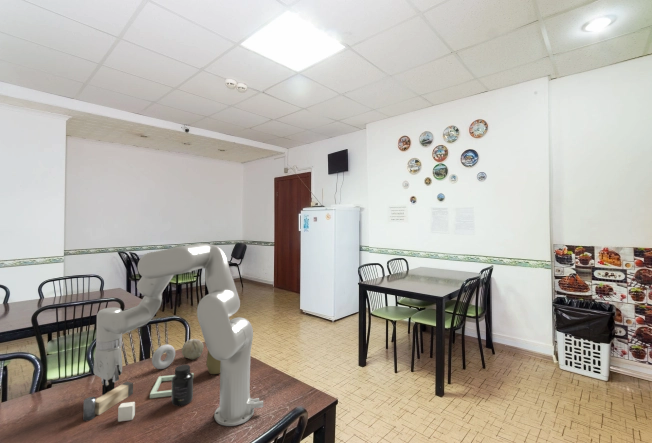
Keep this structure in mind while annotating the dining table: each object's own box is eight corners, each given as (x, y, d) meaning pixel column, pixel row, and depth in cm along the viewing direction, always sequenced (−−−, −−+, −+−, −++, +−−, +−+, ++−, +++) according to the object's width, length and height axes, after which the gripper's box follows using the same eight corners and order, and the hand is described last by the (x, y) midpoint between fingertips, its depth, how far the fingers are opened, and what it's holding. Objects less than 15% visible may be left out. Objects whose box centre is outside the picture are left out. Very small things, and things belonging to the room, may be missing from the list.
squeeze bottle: (219, 377, 127) (220, 333, 127) (202, 374, 128) (202, 331, 128) (229, 368, 135) (230, 326, 135) (212, 365, 136) (213, 325, 136)
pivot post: (96, 414, 101) (97, 396, 101) (92, 420, 99) (92, 401, 99) (86, 415, 101) (86, 397, 101) (81, 421, 98) (81, 402, 98)
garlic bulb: (202, 361, 145) (210, 342, 145) (187, 366, 138) (195, 345, 138) (189, 351, 150) (197, 332, 150) (174, 355, 142) (182, 334, 142)
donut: (172, 362, 139) (172, 340, 139) (176, 364, 137) (177, 342, 137) (149, 371, 130) (150, 348, 130) (154, 374, 128) (154, 350, 128)
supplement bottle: (173, 397, 112) (173, 364, 112) (193, 394, 114) (194, 362, 114) (169, 408, 105) (170, 373, 105) (191, 405, 107) (192, 370, 107)
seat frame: (193, 376, 127) (193, 372, 127) (188, 393, 114) (188, 389, 114) (158, 380, 123) (158, 376, 123) (149, 398, 111) (149, 394, 111)
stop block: (134, 415, 101) (135, 401, 101) (132, 419, 99) (132, 406, 99) (120, 416, 100) (121, 403, 100) (118, 421, 98) (118, 407, 98)
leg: (98, 415, 101) (99, 402, 101) (91, 413, 102) (91, 401, 102) (132, 393, 114) (133, 382, 114) (126, 392, 114) (126, 381, 114)
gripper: (86, 342, 111) (85, 393, 111) (109, 351, 104) (108, 406, 104) (108, 336, 118) (107, 384, 118) (132, 344, 111) (131, 395, 111)
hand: (108, 394), depth 111 cm, fingers closed
